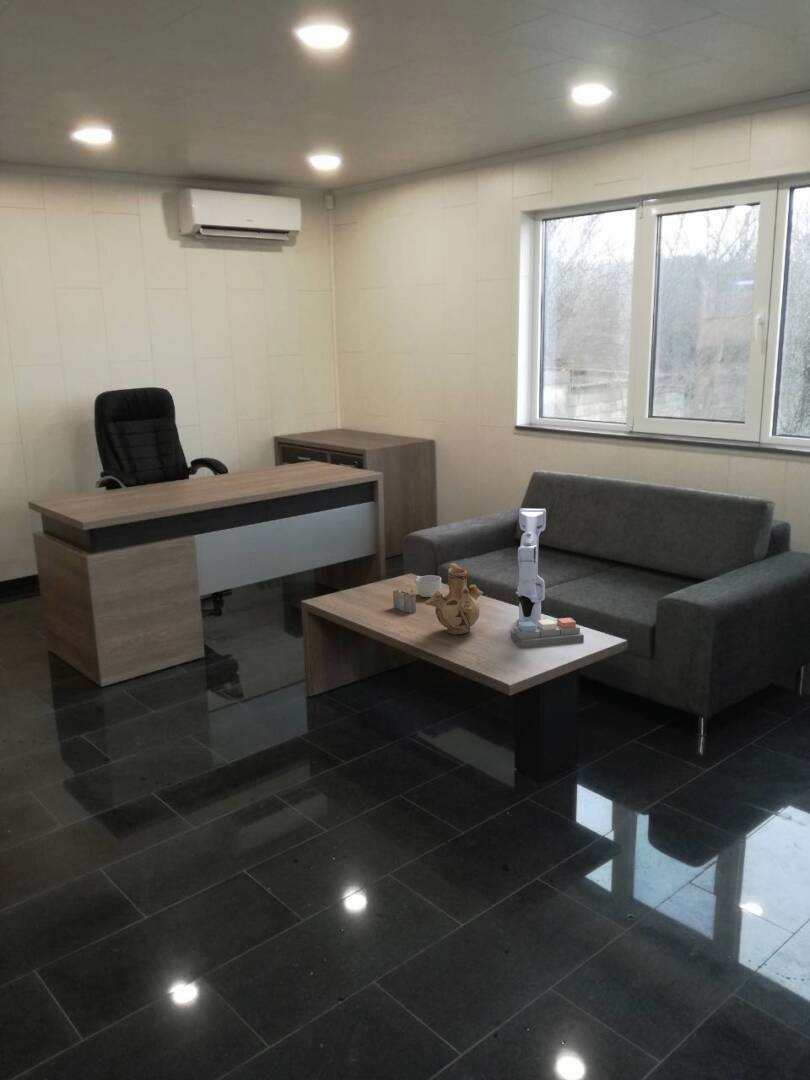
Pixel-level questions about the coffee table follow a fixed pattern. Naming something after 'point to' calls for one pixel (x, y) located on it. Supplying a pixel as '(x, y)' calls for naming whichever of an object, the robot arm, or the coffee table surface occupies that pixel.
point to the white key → (546, 624)
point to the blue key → (526, 626)
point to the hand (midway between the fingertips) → (527, 616)
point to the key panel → (547, 636)
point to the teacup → (428, 585)
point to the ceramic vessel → (457, 602)
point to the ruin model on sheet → (405, 601)
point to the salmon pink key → (566, 623)
